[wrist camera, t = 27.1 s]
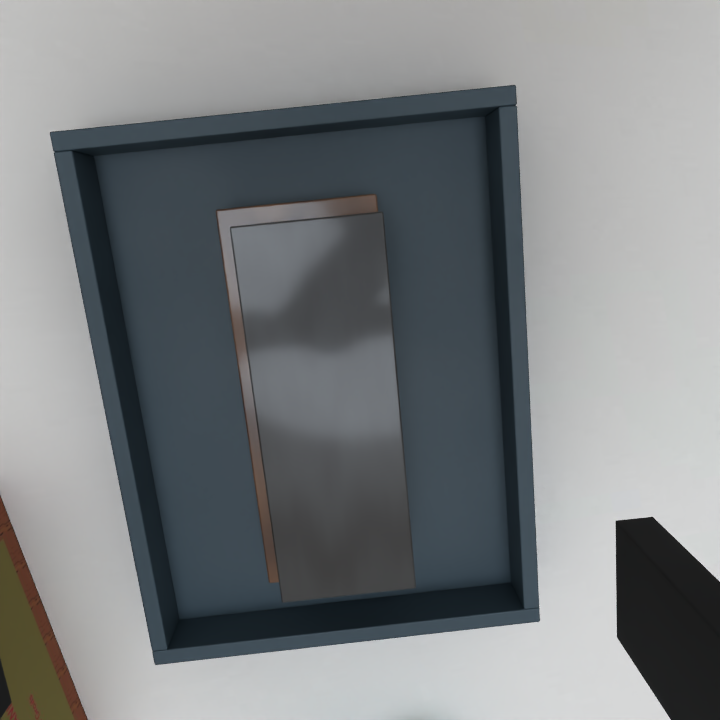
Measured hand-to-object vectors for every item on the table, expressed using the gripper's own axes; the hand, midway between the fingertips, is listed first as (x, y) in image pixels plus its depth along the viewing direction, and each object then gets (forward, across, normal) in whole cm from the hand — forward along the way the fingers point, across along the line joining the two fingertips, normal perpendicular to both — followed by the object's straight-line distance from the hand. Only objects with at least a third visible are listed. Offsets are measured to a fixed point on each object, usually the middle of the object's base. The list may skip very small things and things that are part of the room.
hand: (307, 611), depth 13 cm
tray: (+20, 0, 0) cm, 20 cm away
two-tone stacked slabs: (+16, +3, 0) cm, 16 cm away
